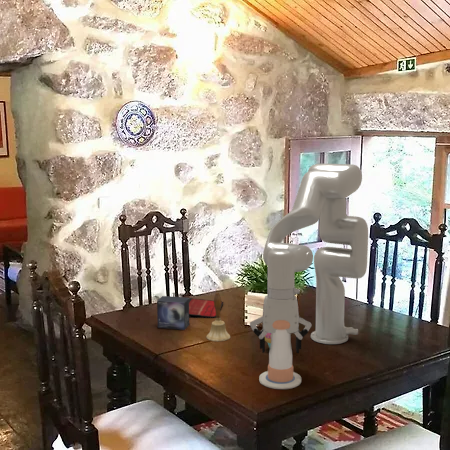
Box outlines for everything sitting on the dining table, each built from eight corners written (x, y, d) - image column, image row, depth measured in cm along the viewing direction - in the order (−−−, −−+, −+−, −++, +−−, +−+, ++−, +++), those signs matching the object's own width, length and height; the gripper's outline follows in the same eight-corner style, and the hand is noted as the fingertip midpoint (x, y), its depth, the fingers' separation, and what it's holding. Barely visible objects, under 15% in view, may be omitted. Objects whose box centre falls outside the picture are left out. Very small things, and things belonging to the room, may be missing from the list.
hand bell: (227, 342, 214) (227, 296, 211) (203, 340, 215) (203, 295, 213) (232, 334, 222) (232, 289, 219) (209, 332, 223) (208, 288, 221)
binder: (175, 312, 241) (185, 297, 261) (175, 318, 241) (185, 302, 262) (216, 315, 239) (224, 300, 259) (216, 321, 239) (224, 305, 260)
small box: (156, 328, 228) (155, 300, 226) (162, 322, 234) (161, 295, 233) (184, 330, 226) (184, 302, 224) (190, 324, 232) (189, 297, 230)
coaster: (299, 372, 187) (299, 369, 187) (302, 389, 176) (302, 386, 175) (259, 372, 188) (259, 369, 188) (259, 388, 176) (259, 385, 176)
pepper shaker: (273, 383, 177) (273, 317, 174) (264, 373, 184) (264, 310, 181) (297, 380, 179) (298, 315, 176) (287, 371, 186) (288, 308, 183)
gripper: (310, 289, 181) (309, 346, 184) (250, 289, 182) (250, 346, 185) (313, 296, 173) (312, 356, 176) (249, 296, 174) (249, 355, 177)
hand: (280, 351), depth 180 cm, fingers open, 9 cm apart
